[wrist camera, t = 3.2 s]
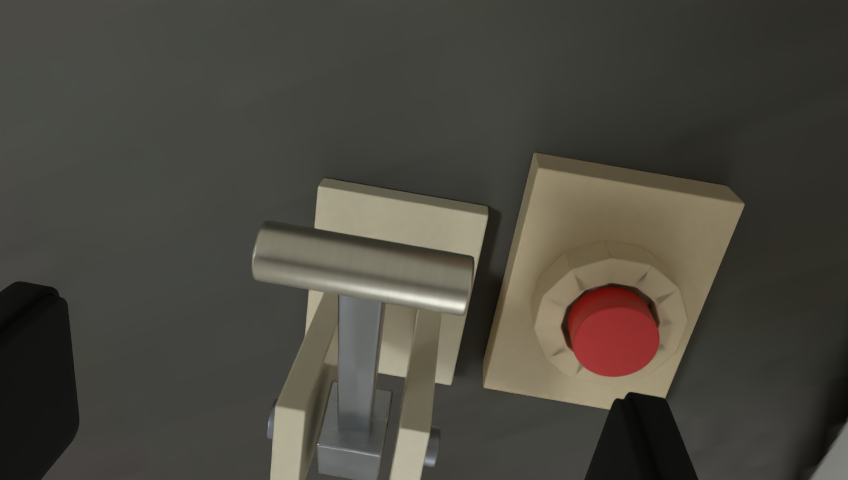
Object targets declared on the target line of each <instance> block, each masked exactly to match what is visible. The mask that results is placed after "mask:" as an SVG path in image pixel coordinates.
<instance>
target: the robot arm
mask: <svg viewBox="0 0 848 480" xmlns="http://www.w3.org/2000/svg"><path fill="white" fill-rule="evenodd" d="M78 427H79V410H78V401H77V391H76V381H75V372H74V362H73V352H72V343H71V333H70V323H69V314H68V305H67V302H66V300H65V299H64V298H61V297H60V296H59V293H58V291H57V290H56V289H55V288H53V287H49V286H44V285H38V284H33V283H27V282H21V281H20V282H15V283H13V284H11V285H9V286H8V287H7V288H5V289H4V290H2V291H1V292H0V480H41V479H42V478H43V476H44V475H45V474H46V473H47V471H48V470H49V469H50V468H51V467H52V465H53V464H54V463H55V462H56V460H57V459H58V458H59V457H60V456H61V454H62V453H63V452H64V451H65V449H66V448H67V447H68V446H69V445H70V443H71V442H72V441H73V439H74V437H75V435H76V433H77V430H78ZM585 480H698V478H697V475H696V473H695V470H694V468H693V465H692V463H691V460H690V458H689V455H688V453H687V450H686V447H685V445H684V442H683V440H682V437H681V435H680V432H679V430H678V427H677V425H676V422H675V420H674V417H673V415H672V412H671V410H670V407H669V405H668V403H667V401H666V399H664V398H663V397H658V396H652V395H647V394H641V393H635V392H628V393H627V395H626V396H625V398H624V399H620V398H616V399H615V400H614V401H613V403H612V406H611V408H610V411H609V414H608V417H607V419H606V422H605V425H604V428H603V430H602V433H601V436H600V439H599V441H598V444H597V447H596V450H595V452H594V455H593V458H592V461H591V463H590V466H589V469H588V472H587V474H586V477H585Z"/></svg>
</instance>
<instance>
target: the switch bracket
mask: <svg viewBox="0 0 848 480" xmlns="http://www.w3.org/2000/svg"><path fill="white" fill-rule="evenodd" d="M487 221H488V207H487V206H483V205H477V204H471V203H466V202H460V201H454V200H448V199H443V198H437V197H431V196H425V195H420V194H414V193H408V192H402V191H397V190H391V189H385V188H379V187H374V186H368V185H362V184H356V183H351V182H345V181H339V180H333V179H328V178H323V180H322V181H321V183H320V185H319V186H318V193H317V204H316V215H315V227H314V228H316V229H322V230H327V231H333V232H339V233H345V234H350V235H356V236H362V237H368V238H373V239H379V240H385V241H391V242H396V243H402V244H408V245H414V246H419V247H425V248H431V249H436V250H442V251H448V252H454V253H459V254H465V255H471V256H473V257H474V260H475V269H474V278H473V284H474V280H475V275H476V271H477V266H478V262H479V257H480V253H481V248H482V243H483V239H484V234H485V230H486V225H487ZM472 289H473V285H472ZM471 293H472V290H471ZM470 298H471V296H470ZM469 302H470V300H469ZM468 307H469V305H468ZM467 312H468V308H467V311H466V313H465V315H464V316H457V315H451V314H446V313H440V312H434V311H428V310H423V309H417V308H411V307H405V306H400V305H394V304H388V303H386V306H385V315H384V324H383V333H382V342H381V351H380V359H379V368H378V373H383V374H389V375H395V376H400V377H406V378H405V384H404V390H403V396H402V403H401V409H400V415H399V421H398V427H397V433H396V440H395V446H394V452H393V458H392V464H391V470H390V477H389V480H421V475H422V470H423V465H425V466H431V467H434V466H435V464H436V461H437V456H438V450H439V444H440V436H441V428H440V426H435V425H431V420H432V409H433V399H434V388H435V383H441V384H446V385H451V384H452V380H453V375H454V371H455V366H456V362H457V357H458V352H459V348H460V343H461V339H462V334H463V330H464V325H465V321H466V316H467ZM337 378H338V295H336V294H331V293H325V292H319V291H314V290H309V295H308V306H307V318H306V329H305V338H304V340H303V343H302V345H301V347H300V350H299V352H298V354H297V357H296V359H295V361H294V364H293V366H292V368H291V371H290V373H289V375H288V378H287V380H286V382H285V385H284V387H283V389H282V392H281V394H280V396H279V398H277V399H275V401H274V403H273V405H272V408H271V411H270V415H269V419H268V424H267V437H268V438H270V439H273V445H272V460H271V475H270V480H306V476H307V473H308V470H309V467H310V464H311V461H312V457H313V454H314V451H315V448H316V442H317V438H318V434H319V430H320V426H321V422H322V418H323V414H324V410H325V406H326V402H327V398H328V394H329V390H330V386H331V382H332V381H334V380H335V381H337Z"/></svg>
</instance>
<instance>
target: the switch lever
mask: <svg viewBox="0 0 848 480" xmlns="http://www.w3.org/2000/svg"><path fill="white" fill-rule="evenodd" d="M251 268H252V275H253V278H254V279H256V280H257V281H262V282H268V283H273V284H279V285H285V286H291V287H296V288H302V289H308V290H314V291H319V292H325V293H331V294H336V295H338V381H335V380H334V381H332V382H331V386H330V390H329V394H328V398H327V402H326V406H325V410H324V414H323V418H322V422H321V426H320V430H319V434H318V438H317V442H316V447H317V463H318V472H319V473H322V474H328V475H333V476H339V477H345V478H351V479H356V480H378V477H379V471H380V466H381V460H382V454H383V449H384V443H385V438H386V432H387V426H388V421H389V414H390V408H391V402H392V396H393V392H392V391H391V390H386V389H381V388H376V386H377V377H378V368H379V359H380V351H381V342H382V333H383V324H384V315H385V306H386V303H388V304H394V305H400V306H405V307H411V308H417V309H423V310H428V311H434V312H440V313H446V314H451V315H457V316H464V315H465V313H466V311H467V308H468V305H469V300H470V296H471V290H472V285H473V278H474V269H475V260H474V257H473V256H471V255H465V254H459V253H454V252H448V251H442V250H436V249H431V248H425V247H419V246H414V245H408V244H402V243H396V242H391V241H385V240H379V239H373V238H368V237H362V236H356V235H350V234H345V233H339V232H333V231H327V230H322V229H316V228H310V227H304V226H299V225H293V224H287V223H281V222H276V221H270V220H268V221H265V222H263V224H262V225H261V227H260V229H259V231H258V233H257V236H256V239H255V242H254V247H253V252H252V262H251Z"/></svg>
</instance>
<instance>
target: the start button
mask: <svg viewBox="0 0 848 480" xmlns="http://www.w3.org/2000/svg"><path fill="white" fill-rule="evenodd" d="M568 329H569V334H570V338H571V342H572V347H573V351H574V354H575V356H576V358H577V360H578V361H579V362H580V364H581V365H582V366H583V367H585V368H586V369H587V370H589V371H591V372H593V373H595V374H598V375H601V376H606V377H621V376H626V375H629V374H632V373H635V372H637V371H639V370H641V369H642V368H643V367H645V366H646V365H647V364H648V363H649V362H650V361H651V360H652V359H653V357H654V356H655V354H656V352H657V350H658V347H659V342H660V335H659V330H658V328H657V325H656V323H655V321H654V319H653V317H652V314H651V312H650V310H649V308H648V306H647V304H646V302H645V301H644V300H643V299H642V298H641V297H640V296H639V295H637V294H636V293H634V292H632V291H630V290H628V289H625V288H621V287H603V288H599V289H596V290H593V291H591V292H589V293H587V294H585V295H584V296H583V297H581V298H580V299H579V300H578V301H577V302H576V303H575V305H574V306H573V308H572V310H571V312H570V314H569V318H568Z"/></svg>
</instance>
